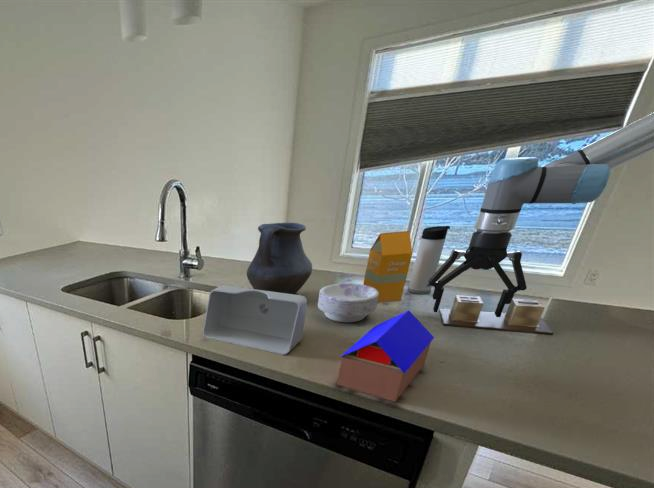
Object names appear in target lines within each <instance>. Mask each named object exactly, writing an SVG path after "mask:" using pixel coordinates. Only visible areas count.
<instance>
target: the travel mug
mask: <svg viewBox="0 0 654 488" xmlns="http://www.w3.org/2000/svg"><path fill="white" fill-rule="evenodd" d="M450 229H451V226H450V225H439V226H430V227H425V228H424V229H423V230H422V233H421V234H422V235H421V237H420V240H419V244H418V249H417V252H416V256H415V260H414V263H413V268H412V272H411V275H410V279H409V283H408V287H407V292H409V293H410V294H416V295H428V294H430V293H431V291H432V287H433V286H430V285H429V283H428V281H429V279H430V278H431V277H432V276H433V275H434V274H435V273H436V272H437V270H438V267H439V264H440V260H441V257H442V254H443V253H442V252H443V250H444V246H445V242H446V238H447V234H448V230H450Z"/></svg>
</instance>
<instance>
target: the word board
mask: <svg viewBox="0 0 654 488" xmlns="http://www.w3.org/2000/svg"><path fill="white" fill-rule="evenodd" d="M438 312H439V315H440V318H441V322H442V326H445V327H455V328H465V329H466V328H467V329H477V330H479V329H480V330H491V331H501V332H511V333H512V332H514V333H523V334H538V335H547V336H548V335H549V336H553V335H554V331H553V330H552V329H551V328H550V326H549V325H548V324H547V323H546V322H545V320H544V319H543V317H542V316H541V317H540V320H539V322H538V324H537V326H529V325H516V324H509V323H508V321H507V319H506V318H505V315H506V312H502V314H501V316H500V317H496V315H495V311H484V310H483V311H482V310H481V312H480V315H479V318H478V321H466V320H453V319H452V316H451V313H450V312H451V308H441V307H439V308H438Z"/></svg>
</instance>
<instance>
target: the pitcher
mask: <svg viewBox="0 0 654 488" xmlns="http://www.w3.org/2000/svg"><path fill="white" fill-rule="evenodd" d="M257 230H258V232H259V233H260V236H259V240H258V247H257V250H256V253H255V254H254V257H253V258H252V260H251V262H250V264H249V266H248V267H247V270H246V276H247V280H248V282H249V284H250V285H251V287H252V289H256V290H264V291H271V292H279V293H286V294H294V295H297V293H298V292H299V291H300V290H302V288H303V286H304V285H305V284H306V282H307V281H308V280H309V278H310V277H311V275H312V272H313V263H312V262H311V260H310V259H309V257H308V256H307V254H306V253H305V250H304V247H303V242H302V239H301V233H303V232H304V231H306V230H307V227H306V225H304V224H303V223H298V222H274V223H273V222H272V223H262V224H260V225H258V227H257Z"/></svg>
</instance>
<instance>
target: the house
mask: <svg viewBox="0 0 654 488" xmlns="http://www.w3.org/2000/svg"><path fill="white" fill-rule="evenodd" d="M434 338H435V336H434V335H433V334H432V333H431V332H430V331H429V330H428V329H427V328H426V327H425V326H424V324H422V323H421V322H420V320H419V319H418V318H417V317H416V316H415V315H414V314H413V313H412V312H411V311H410V310H406V311H404V312H402V313H400V314H397V315H396V316H394V317H391V318H389V319H387V320H385V321H383V322H380V323H378V324H375V325H374V326H373V327H372V328H371V329H370V330H368V331H367V332H366V333H365V334H364V335H363V336H362V337H360V339H358V340H357V341H356V342H355V343H354V344H353V345H352V346H350V347H349V348H348V349H347V350H346V351H344V352H343V353H342V355H340V356H339V357H340V358H341V360H340V366H339V370H338V376H337V382H336V385H337V386H341V387H344V388H347V389H350V390H354V391H357V392H361V393H364V394H368V395H372V396H374V397H377V398H381V399H384V400H388V401H391V402H396V401H397V400H398V399H399V398H400V397H401V395H402V394H403V392H404V391H405V390H406V389H407V387H408V386H409V385H410V384H411V382H412V381H413V380H414V378H415V377H416V376H417V375H418V373H419V372H420V370H421V369H422V368H423V367H424V366H425V363H426V359H427V356H428V353H429V349H430V346H431V343H432V342H433V341H434Z"/></svg>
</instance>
